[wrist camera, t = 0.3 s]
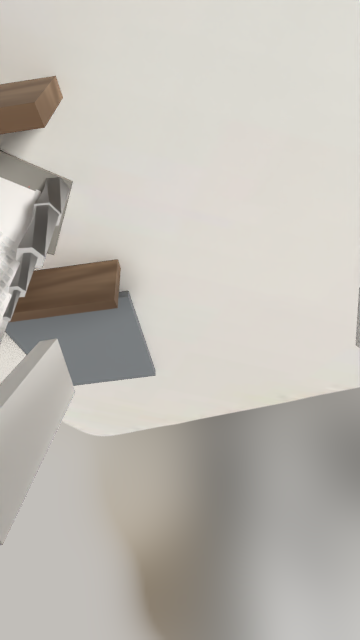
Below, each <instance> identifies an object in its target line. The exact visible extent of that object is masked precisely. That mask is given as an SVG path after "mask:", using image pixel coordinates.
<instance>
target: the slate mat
mask: <svg viewBox="0 0 360 640" xmlns="http://www.w3.org/2000/svg"><path fill="white" fill-rule="evenodd" d="M5 332H6V333H7V334H8V335H9V336H10V337H11V338H12V339H13V340H14V341H15V342H16V343H17V345H18V346H19V347H20V348H21V349H22V350H23V351H24V352H25V353H26V354H28V353H29V352H30V351H31V350H32V349H33V348H34V347H35V346H36V345H37V344H38V343H39V342H40V341H45V340H50V339H56V338H57V339H58V342H59V345H60V348H61V351H62V354H63V357H64V360H65V363H66V366H67V369H68V372H69V375H70V378H71V381H72V383H73V386H75V385H83V384H91V383H99V382H108V381H116V380H124V379H132V378H140V377H148V376H156V375H155V368H154V365H153V362H152V359H151V356H150V353H149V350H148V347H147V344H146V341H145V338H144V336H143V333H142V330H141V327H140V324H139V321H138V318H137V315H136V312H135V309H134V306H133V303H132V300H131V297H130V294H129V291H125V292H119V297H118V308H115V309H107V310H100V311H92V312H84V313H77V314H69V315H61V316H54V317H46V318H39V319H31V320H23V321H16V322H8V324H7V327H6V330H5Z"/></svg>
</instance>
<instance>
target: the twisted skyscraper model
mask: <svg viewBox="0 0 360 640" xmlns="http://www.w3.org/2000/svg"><path fill="white" fill-rule="evenodd" d="M72 183H73V181H71V180H68V179H66V178H64V177H61V176H59V175H57V174H54V173H52V172H50V171H47V170H45V169H43V168H40V167H38V166H35V165H33V164H31V163H28V162H26V161H24V160H21V159H19V158H17V157H14V156H12V155H10V154H7V153H5V152H3V151H0V344H1V341H2V338H3V335H4V333H5V330H6V327H7V324H8V321H11V318H12V315H13V312H14V310H15V307H16V304H17V301H18V298H19V297H25V294H26V291H27V288H28V285H29V282H30V280H31V277H32V274H33V271H34V268H40V267H43V264H44V260H45V257H46V254H47V253H49V254H52V255H54V253H55V250H56V246H57V242H58V238H59V234H60V230H61V226H62V222H63V218H64V214H65V210H66V206H67V202H68V199H69V195H70V191H71V187H72Z"/></svg>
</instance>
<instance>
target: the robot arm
mask: <svg viewBox="0 0 360 640" xmlns="http://www.w3.org/2000/svg"><path fill="white" fill-rule="evenodd" d="M356 346H358V347H359V348H360V288H359V301H358V316H357V332H356ZM74 394H75V389H74V386H73V383H72V381H71V378H70V375H69V372H68V369H67V366H66V363H65V360H64V357H63V354H62V351H61V348H60V345H59V342H58V339H57V338H56V339H50V340H45V341H40V342H39V343H38V344H37V345H36V346H35V347H34V348H33V349H32V350H31V351H30V352H29V353H28V354H27V356H26V357H25V358H24V359H23V360H22V361H21V362H20V363H19V364H18V365H17V366H16V367H15V369H14V370H13V371H12V372H11V373H10V374H9V375H8V376H7V377H6V378H5V379H4V380H3V381H2V383H1V384H0V545H3V543H4V541H5V539H6V537H7V535H8V532H9V531H10V528H11V526H12V524H13V522H14V520H15V518H16V516H17V514H18V512H19V509H20V507H21V505H22V503H23V501H24V499H25V497H26V495H27V493H28V490H29V488H30V486H31V484H32V482H33V480H34V478H35V476H36V474H37V472H38V469H39V467H40V465H41V463H42V461H43V459H44V457H45V454H46V453H47V451H48V448H49V446H50V444H51V442H52V440H53V438H54V436H55V434H56V432H57V429H58V427H59V425H60V423H61V421H62V419H63V417H64V415H65V413H66V411H67V408H68V406H69V404H70V402H71V400H72V398H73V396H74Z"/></svg>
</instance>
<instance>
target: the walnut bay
mask: <svg viewBox="0 0 360 640" xmlns="http://www.w3.org/2000/svg"><path fill="white" fill-rule="evenodd" d="M62 98H63V96H62V94H61V91H60V88H59V85H58V82H57V79H56V76H52V77H46V78H39V79H33V80H26V81H20V82H14V83H7V84H1V85H0V134H5V133H12V132H18V131H25V130H31V129H38V128H45V126H46V124H47V123H48V121H49V120H50V118H51V116H52V115H53V113H54V111H55V110H56V108H57V106H58V105H59V103H60V102H61V100H62ZM120 270H121V268H120V265H119V262H118V260H111V261H103V262H96V263H89V264H81V265H74V266H66V267H59V268H52V269H44V270H37V271H33V274H32V277H31V280H30V282H29V285H28V288H27V291H26V294H25V297H19V298H18V301H17V304H16V307H15V310H14V312H13V315H12V318H11V321H8V322H16V321H23V320H31V319H39V318H46V317H54V316H61V315H69V314H77V313H84V312H92V311H100V310H107V309H115V308H118V297H119V283H120Z"/></svg>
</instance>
